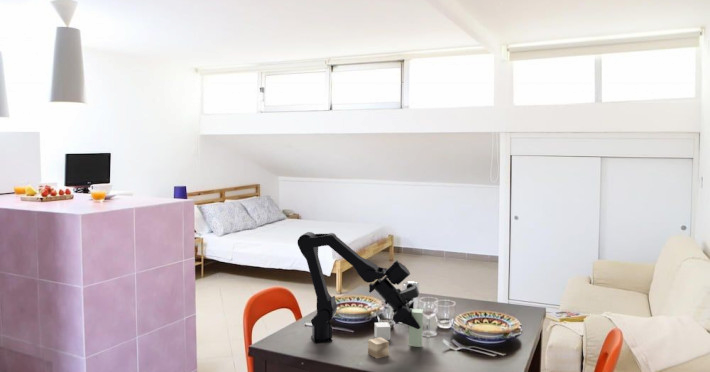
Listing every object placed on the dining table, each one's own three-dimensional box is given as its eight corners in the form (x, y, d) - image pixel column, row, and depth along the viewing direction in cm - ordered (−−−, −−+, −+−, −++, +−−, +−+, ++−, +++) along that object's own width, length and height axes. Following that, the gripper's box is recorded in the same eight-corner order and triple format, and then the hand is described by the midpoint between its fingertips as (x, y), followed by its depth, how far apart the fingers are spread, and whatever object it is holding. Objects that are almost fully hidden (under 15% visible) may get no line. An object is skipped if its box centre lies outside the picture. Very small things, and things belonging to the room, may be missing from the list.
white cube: (376, 340, 201) (376, 327, 201) (374, 335, 206) (374, 322, 206) (390, 340, 202) (390, 326, 202) (387, 335, 207) (387, 322, 206)
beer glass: (417, 323, 221) (418, 286, 219) (400, 322, 222) (401, 285, 221) (419, 317, 227) (420, 282, 226) (402, 316, 229) (403, 280, 228)
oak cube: (376, 358, 184) (376, 344, 184) (368, 353, 188) (368, 339, 188) (388, 355, 187) (388, 341, 187) (380, 351, 191) (380, 336, 191)
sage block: (408, 345, 193) (409, 312, 192) (409, 341, 198) (410, 308, 197) (421, 346, 192) (422, 313, 191) (422, 342, 197) (423, 309, 196)
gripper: (403, 284, 185) (435, 319, 184) (408, 272, 203) (437, 303, 202) (379, 306, 187) (411, 341, 186) (386, 291, 205) (415, 323, 204)
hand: (419, 326), depth 194 cm, fingers closed on sage block, 4 cm apart
